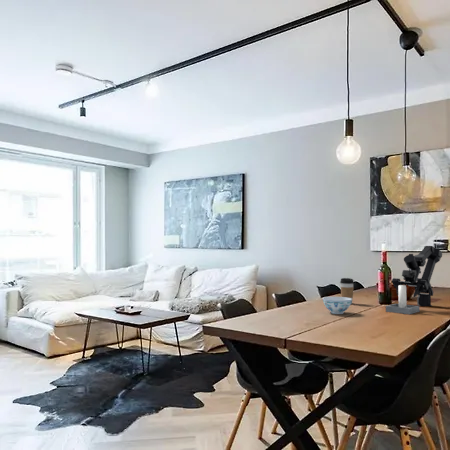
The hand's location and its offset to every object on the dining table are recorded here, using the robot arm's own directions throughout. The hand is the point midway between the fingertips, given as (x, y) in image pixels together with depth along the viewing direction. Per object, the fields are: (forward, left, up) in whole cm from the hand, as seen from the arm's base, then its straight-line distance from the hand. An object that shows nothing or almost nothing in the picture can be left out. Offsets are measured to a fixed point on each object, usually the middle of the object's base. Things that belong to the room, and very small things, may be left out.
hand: (405, 295), depth 246 cm
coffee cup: (+27, -25, -8) cm, 38 cm away
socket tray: (+2, +3, -8) cm, 9 cm away
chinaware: (+38, +12, -8) cm, 41 cm away
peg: (+2, +3, -8) cm, 9 cm away
